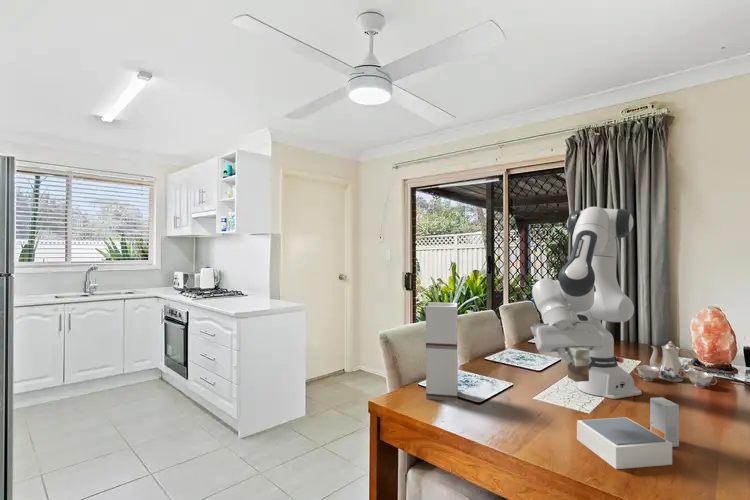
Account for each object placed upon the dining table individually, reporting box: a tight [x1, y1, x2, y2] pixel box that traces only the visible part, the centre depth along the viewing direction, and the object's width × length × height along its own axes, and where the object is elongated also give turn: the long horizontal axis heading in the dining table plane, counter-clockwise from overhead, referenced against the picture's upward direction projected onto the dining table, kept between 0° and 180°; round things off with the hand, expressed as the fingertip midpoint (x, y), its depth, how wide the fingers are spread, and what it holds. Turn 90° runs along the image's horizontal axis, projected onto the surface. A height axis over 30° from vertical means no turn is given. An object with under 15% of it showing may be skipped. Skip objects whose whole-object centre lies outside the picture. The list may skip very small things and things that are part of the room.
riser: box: [576, 416, 673, 470], centre depth 111 cm, size 16×16×6 cm
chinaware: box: [632, 340, 718, 389], centre depth 169 cm, size 28×17×17 cm, turn 67°
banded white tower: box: [425, 301, 459, 402], centre depth 154 cm, size 11×11×35 cm
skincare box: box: [649, 397, 680, 448], centre depth 116 cm, size 6×4×12 cm
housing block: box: [567, 347, 589, 383], centre depth 117 cm, size 4×4×9 cm
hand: (579, 363), depth 116 cm, fingers closed on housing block, 4 cm apart
